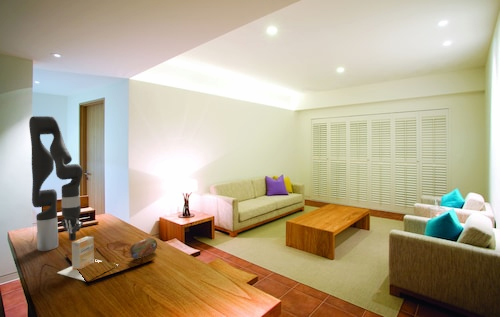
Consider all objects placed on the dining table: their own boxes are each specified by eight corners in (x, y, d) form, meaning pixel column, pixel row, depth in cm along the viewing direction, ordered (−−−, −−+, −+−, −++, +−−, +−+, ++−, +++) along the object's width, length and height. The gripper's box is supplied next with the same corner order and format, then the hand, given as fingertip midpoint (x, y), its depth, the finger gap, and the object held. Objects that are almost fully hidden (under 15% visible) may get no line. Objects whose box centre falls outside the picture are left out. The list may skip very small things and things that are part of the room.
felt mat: (57, 273, 118) (57, 272, 118) (90, 258, 133) (90, 258, 133) (87, 282, 111) (87, 281, 111) (119, 265, 126) (118, 264, 126)
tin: (132, 262, 130) (131, 245, 129) (128, 260, 131) (128, 244, 131) (157, 251, 142) (157, 236, 142) (153, 250, 144) (153, 235, 143)
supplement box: (80, 270, 120) (79, 243, 119) (72, 269, 121) (70, 242, 120) (94, 262, 128) (93, 236, 127) (86, 261, 129) (85, 235, 128)
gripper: (54, 205, 124) (55, 241, 125) (72, 208, 120) (74, 244, 121) (69, 202, 131) (71, 235, 132) (87, 204, 127) (89, 239, 128)
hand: (72, 240), depth 126 cm, fingers closed
